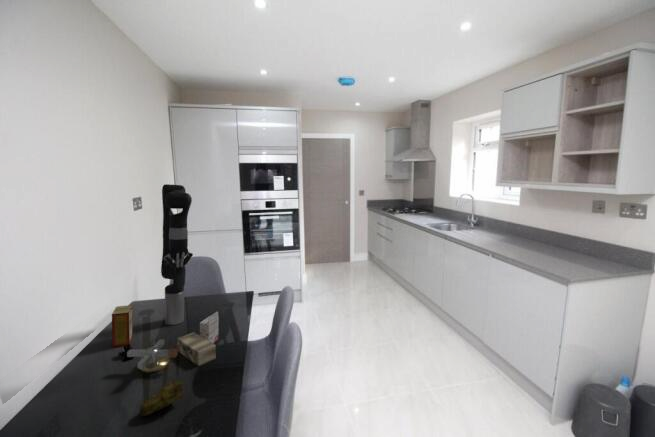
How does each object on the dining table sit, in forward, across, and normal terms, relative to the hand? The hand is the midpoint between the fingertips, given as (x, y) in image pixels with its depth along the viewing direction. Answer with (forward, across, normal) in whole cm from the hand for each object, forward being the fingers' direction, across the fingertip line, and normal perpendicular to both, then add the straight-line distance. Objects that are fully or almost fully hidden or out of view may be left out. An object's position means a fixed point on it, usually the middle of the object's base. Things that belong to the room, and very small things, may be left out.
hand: (178, 274), depth 137 cm
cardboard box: (+35, +2, -11) cm, 37 cm away
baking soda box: (+35, -14, +25) cm, 45 cm away
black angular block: (+36, -17, +10) cm, 41 cm away
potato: (+35, -22, -33) cm, 53 cm away
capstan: (+35, -15, -8) cm, 39 cm away
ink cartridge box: (+35, +12, -6) cm, 38 cm away
